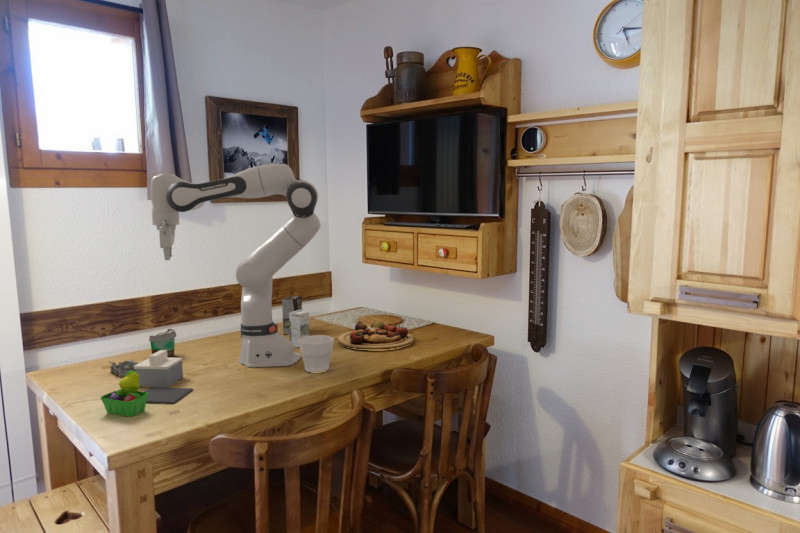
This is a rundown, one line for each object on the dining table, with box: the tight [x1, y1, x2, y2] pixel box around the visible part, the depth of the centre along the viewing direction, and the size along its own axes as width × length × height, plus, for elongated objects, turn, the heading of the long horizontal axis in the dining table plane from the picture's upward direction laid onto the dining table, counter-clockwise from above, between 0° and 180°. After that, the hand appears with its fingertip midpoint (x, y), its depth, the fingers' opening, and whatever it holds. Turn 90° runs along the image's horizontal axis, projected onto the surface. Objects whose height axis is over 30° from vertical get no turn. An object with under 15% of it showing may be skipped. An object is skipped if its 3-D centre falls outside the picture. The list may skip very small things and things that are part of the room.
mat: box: [143, 387, 194, 405], centre depth 176 cm, size 14×12×1 cm
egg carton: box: [108, 359, 140, 377], centre depth 201 cm, size 11×8×4 cm
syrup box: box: [289, 309, 310, 347], centre depth 232 cm, size 6×6×14 cm
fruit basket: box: [99, 371, 149, 418], centre depth 164 cm, size 11×9×11 cm
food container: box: [148, 328, 177, 358], centre depth 217 cm, size 12×6×10 cm, turn 168°
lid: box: [134, 350, 184, 369], centre depth 189 cm, size 11×10×5 cm
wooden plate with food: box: [337, 319, 415, 349], centre depth 239 cm, size 32×32×8 cm
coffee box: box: [281, 295, 303, 335], centre depth 255 cm, size 9×6×16 cm
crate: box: [135, 360, 184, 388], centre depth 190 cm, size 11×10×6 cm
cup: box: [298, 334, 335, 373], centre depth 200 cm, size 12×12×11 cm
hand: (168, 258), depth 204 cm, fingers open, 8 cm apart
